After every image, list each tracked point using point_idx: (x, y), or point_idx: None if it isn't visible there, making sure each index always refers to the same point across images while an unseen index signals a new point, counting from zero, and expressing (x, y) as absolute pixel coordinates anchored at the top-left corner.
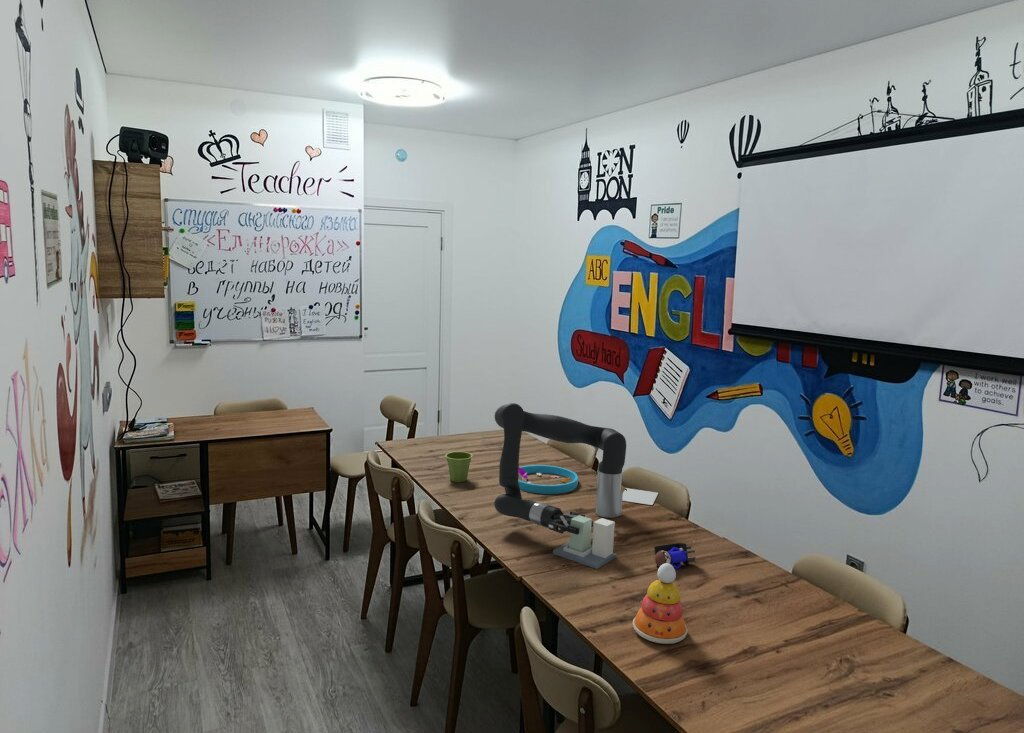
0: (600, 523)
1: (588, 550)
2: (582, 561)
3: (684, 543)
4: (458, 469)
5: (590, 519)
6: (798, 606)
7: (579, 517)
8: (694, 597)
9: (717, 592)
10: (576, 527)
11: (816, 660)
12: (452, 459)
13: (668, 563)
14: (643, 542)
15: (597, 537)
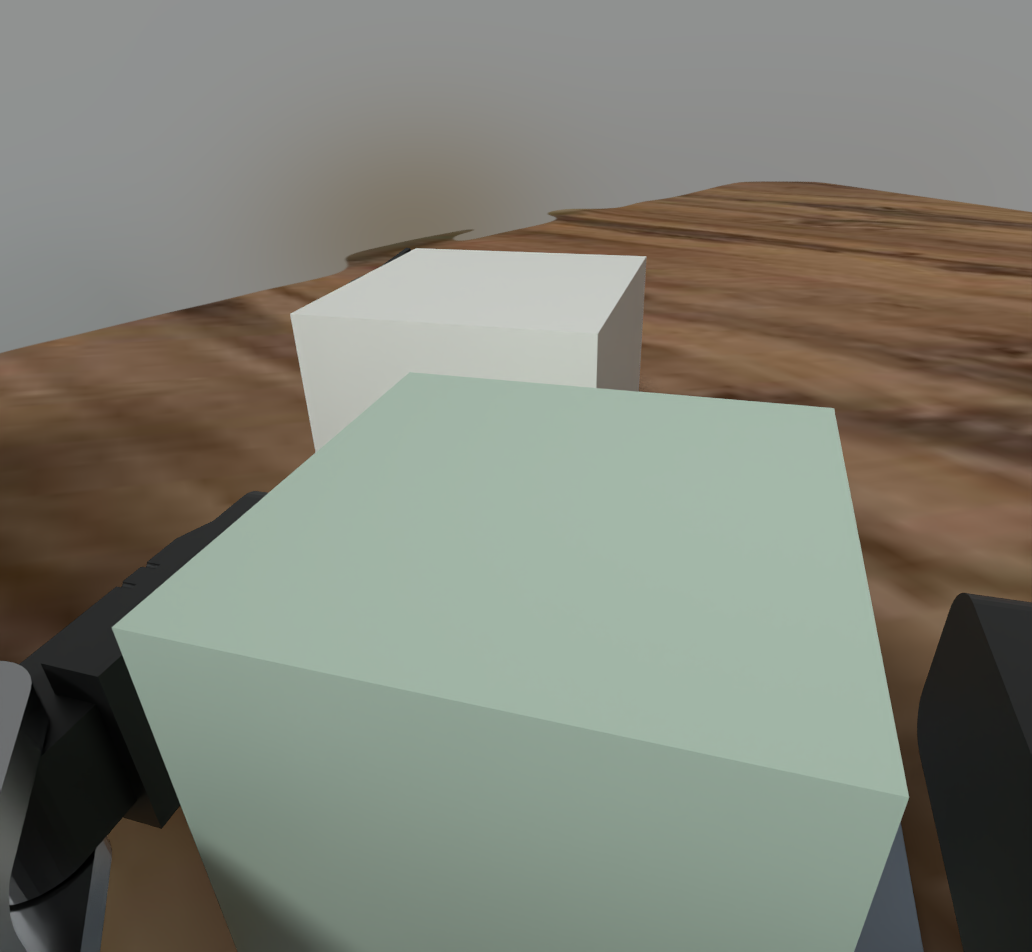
0: (595, 291)
1: None
2: (905, 900)
3: (404, 252)
4: None
5: (464, 379)
6: (595, 250)
7: (425, 558)
8: (757, 342)
9: (644, 317)
10: (1016, 640)
11: (871, 234)
12: None
13: None
14: (30, 546)
15: None
